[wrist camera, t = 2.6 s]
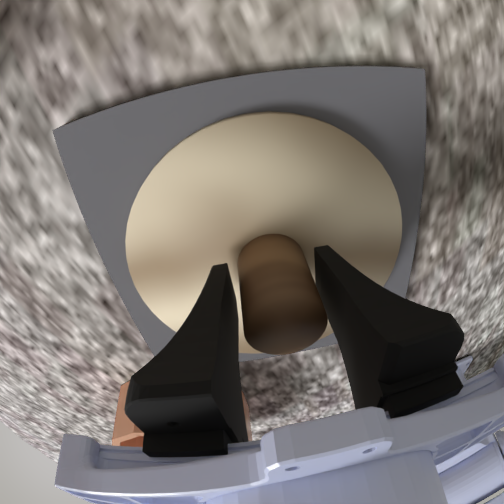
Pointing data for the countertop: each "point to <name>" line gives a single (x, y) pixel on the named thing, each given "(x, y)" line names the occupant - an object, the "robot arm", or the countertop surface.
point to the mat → (228, 105)
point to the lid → (261, 223)
